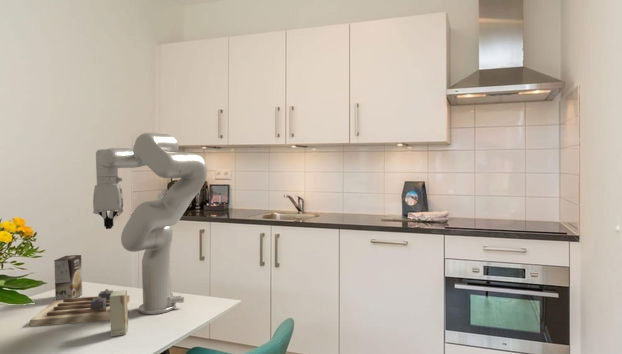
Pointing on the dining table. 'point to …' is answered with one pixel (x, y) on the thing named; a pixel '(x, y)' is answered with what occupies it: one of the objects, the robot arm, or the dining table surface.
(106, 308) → the wooden slatted tray
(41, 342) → the dining table surface
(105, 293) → the switch tab far
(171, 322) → the dining table surface
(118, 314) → the skincare box
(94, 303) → the switch tab near
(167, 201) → the robot arm
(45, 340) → the dining table surface
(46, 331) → the dining table surface
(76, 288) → the coffee box
